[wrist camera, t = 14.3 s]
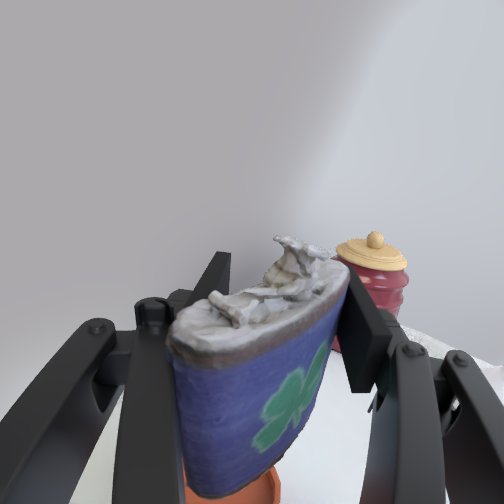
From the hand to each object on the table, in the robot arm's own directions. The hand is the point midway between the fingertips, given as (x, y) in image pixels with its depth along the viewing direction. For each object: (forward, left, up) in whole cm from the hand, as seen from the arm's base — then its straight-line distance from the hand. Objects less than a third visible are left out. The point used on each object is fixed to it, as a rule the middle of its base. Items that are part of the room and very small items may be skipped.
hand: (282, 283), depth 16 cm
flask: (0, -5, -7) cm, 9 cm away
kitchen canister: (+15, +27, -20) cm, 37 cm away
